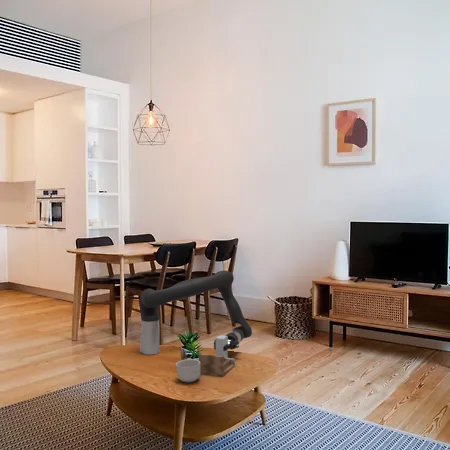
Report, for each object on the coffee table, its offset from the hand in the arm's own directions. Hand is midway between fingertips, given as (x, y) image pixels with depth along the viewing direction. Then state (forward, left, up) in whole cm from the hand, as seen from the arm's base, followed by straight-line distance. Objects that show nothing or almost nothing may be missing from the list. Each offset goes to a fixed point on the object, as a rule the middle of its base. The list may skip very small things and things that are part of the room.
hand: (219, 348), depth 241 cm
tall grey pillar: (0, +3, -7) cm, 8 cm away
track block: (+3, -10, -7) cm, 13 cm away
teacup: (-4, -26, -7) cm, 28 cm away
